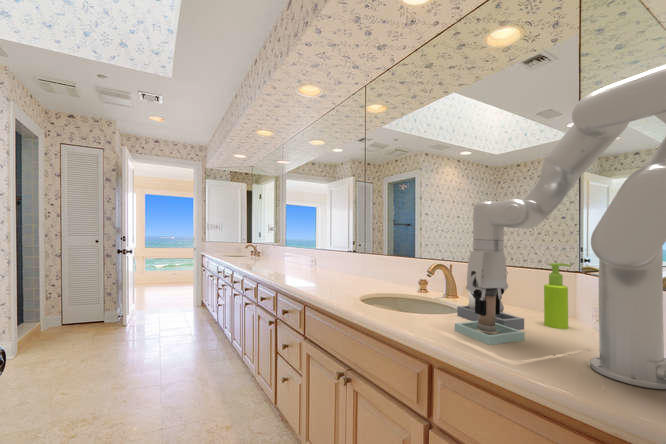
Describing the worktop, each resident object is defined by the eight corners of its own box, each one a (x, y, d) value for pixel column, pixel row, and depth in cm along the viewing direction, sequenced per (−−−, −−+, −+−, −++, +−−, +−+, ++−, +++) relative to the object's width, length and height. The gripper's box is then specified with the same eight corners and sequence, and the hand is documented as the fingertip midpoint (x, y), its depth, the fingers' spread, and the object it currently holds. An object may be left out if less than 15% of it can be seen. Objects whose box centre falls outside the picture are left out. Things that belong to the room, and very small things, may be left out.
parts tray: (524, 343, 80) (524, 332, 80) (489, 349, 76) (489, 336, 76) (486, 330, 91) (486, 319, 91) (454, 334, 87) (454, 323, 87)
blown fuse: (499, 331, 83) (501, 289, 83) (486, 332, 81) (488, 290, 81) (485, 325, 87) (487, 286, 87) (473, 327, 85) (474, 287, 86)
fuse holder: (524, 332, 90) (524, 318, 90) (503, 335, 87) (503, 320, 87) (475, 316, 107) (475, 304, 107) (457, 318, 104) (457, 306, 104)
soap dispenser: (576, 333, 90) (575, 264, 91) (549, 331, 91) (549, 263, 92) (565, 327, 96) (565, 262, 97) (540, 325, 97) (540, 262, 98)
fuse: (486, 318, 100) (486, 284, 101) (475, 320, 99) (476, 285, 99) (475, 315, 105) (475, 282, 105) (465, 316, 103) (465, 283, 103)
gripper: (499, 246, 91) (498, 308, 91) (453, 245, 85) (452, 312, 85) (522, 247, 84) (522, 315, 84) (475, 247, 78) (474, 320, 78)
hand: (487, 313), depth 84 cm, fingers closed on blown fuse, 4 cm apart
